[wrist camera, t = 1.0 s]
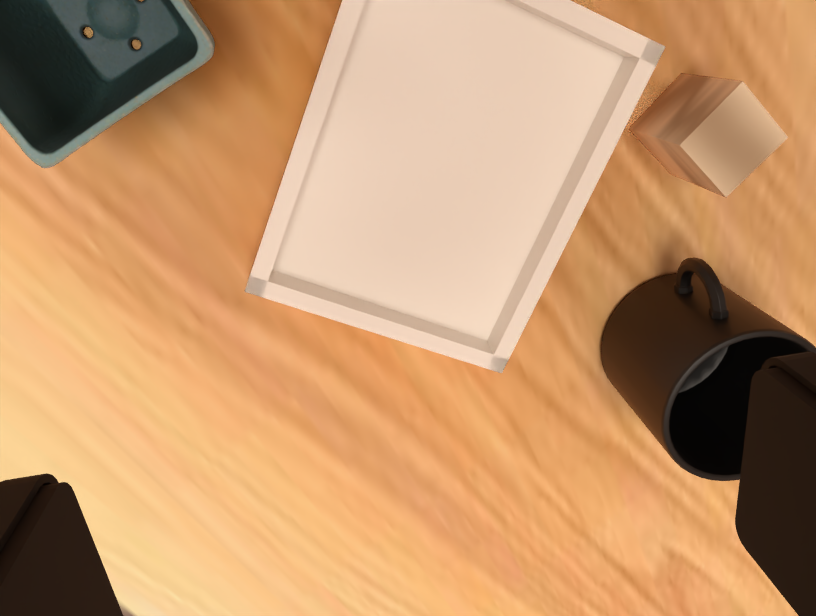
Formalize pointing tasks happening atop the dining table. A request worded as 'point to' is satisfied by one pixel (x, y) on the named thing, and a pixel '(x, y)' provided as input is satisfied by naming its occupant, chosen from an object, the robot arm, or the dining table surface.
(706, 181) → the beech block
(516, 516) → the dining table surface
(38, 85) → the flower pot
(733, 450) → the mug
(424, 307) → the tray
